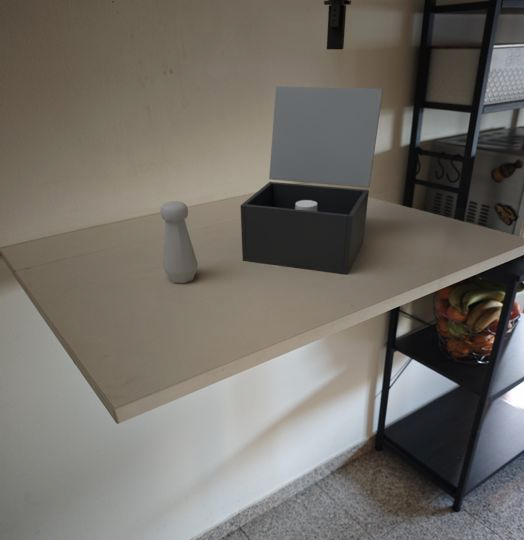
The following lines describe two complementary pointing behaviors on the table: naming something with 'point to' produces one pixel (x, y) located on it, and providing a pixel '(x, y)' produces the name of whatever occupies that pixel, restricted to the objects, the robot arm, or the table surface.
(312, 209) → the pill bottle
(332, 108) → the grey box lid
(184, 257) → the salt shaker
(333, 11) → the robot arm
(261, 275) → the table surface
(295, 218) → the box
